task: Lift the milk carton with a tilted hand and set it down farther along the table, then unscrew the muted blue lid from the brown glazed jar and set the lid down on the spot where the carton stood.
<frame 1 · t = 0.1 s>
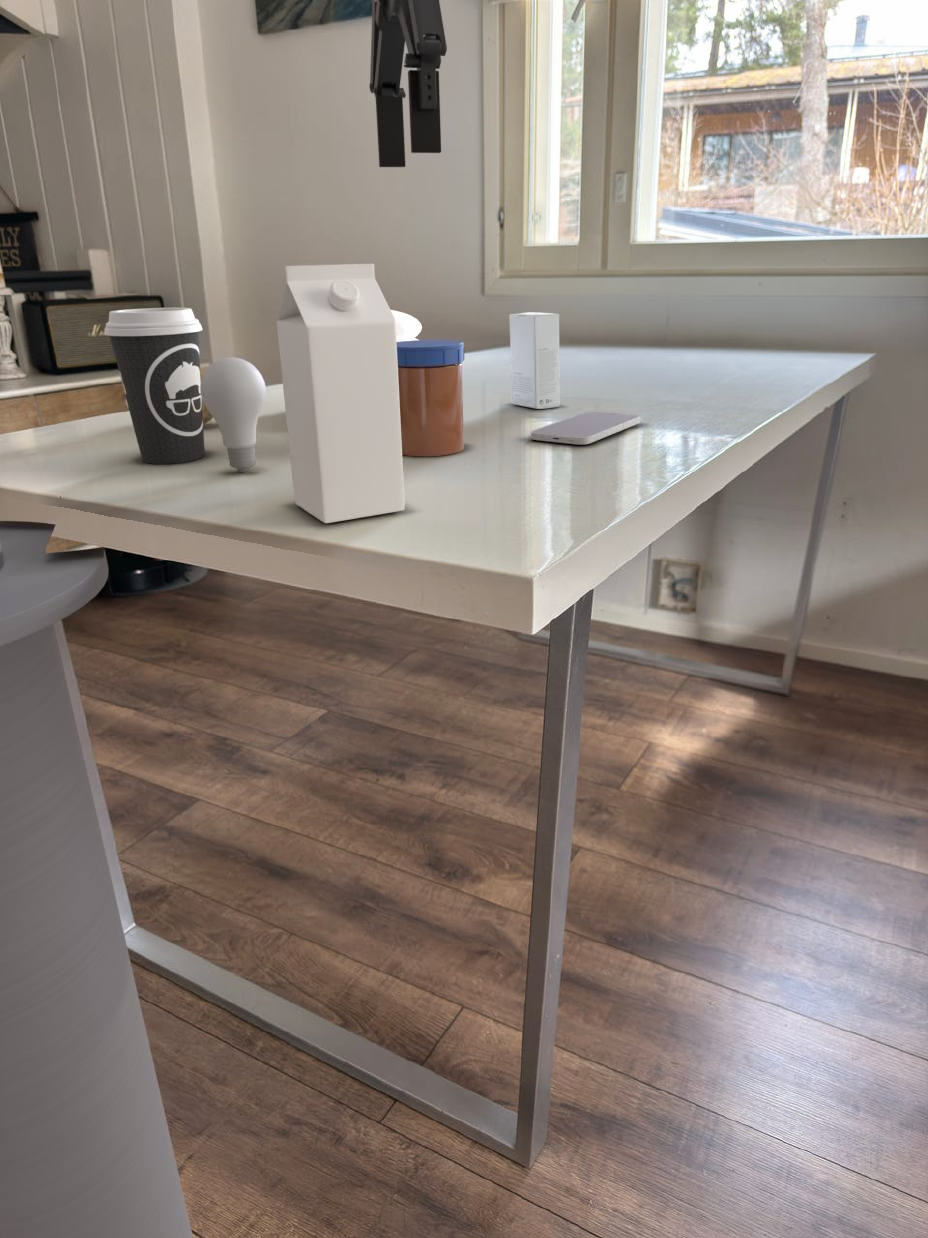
hand: (408, 160, 86), 28 cm above the table, tool pointing down, fingers open, 13 cm apart
cosmetic box: (534, 407, 119), on the table
coffee cup: (174, 459, 93), on the table
lightbulb: (243, 473, 86), on the table
jar lid: (425, 346, 90), point 11 cm above the table, screwed on, not yet turned
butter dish: (368, 416, 115), on the table
jar: (429, 449, 94), on the table
milk carton: (349, 511, 72), on the table
seashell: (192, 425, 112), on the table
smartphone: (587, 432, 101), on the table
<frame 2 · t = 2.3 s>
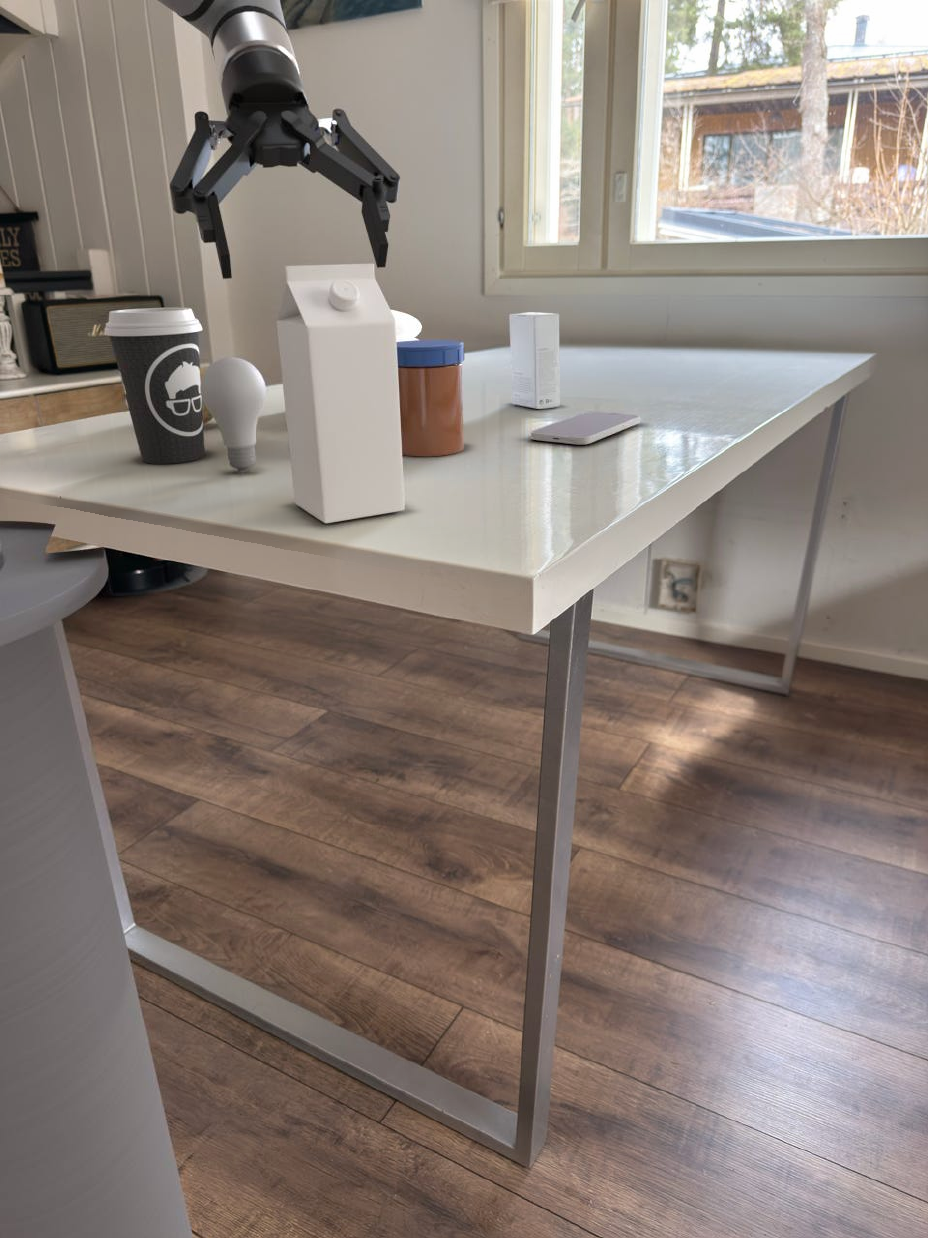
hand: (306, 261, 75), 19 cm above the table, tool tilted 45°, fingers open, 13 cm apart
nothing on the table moved.
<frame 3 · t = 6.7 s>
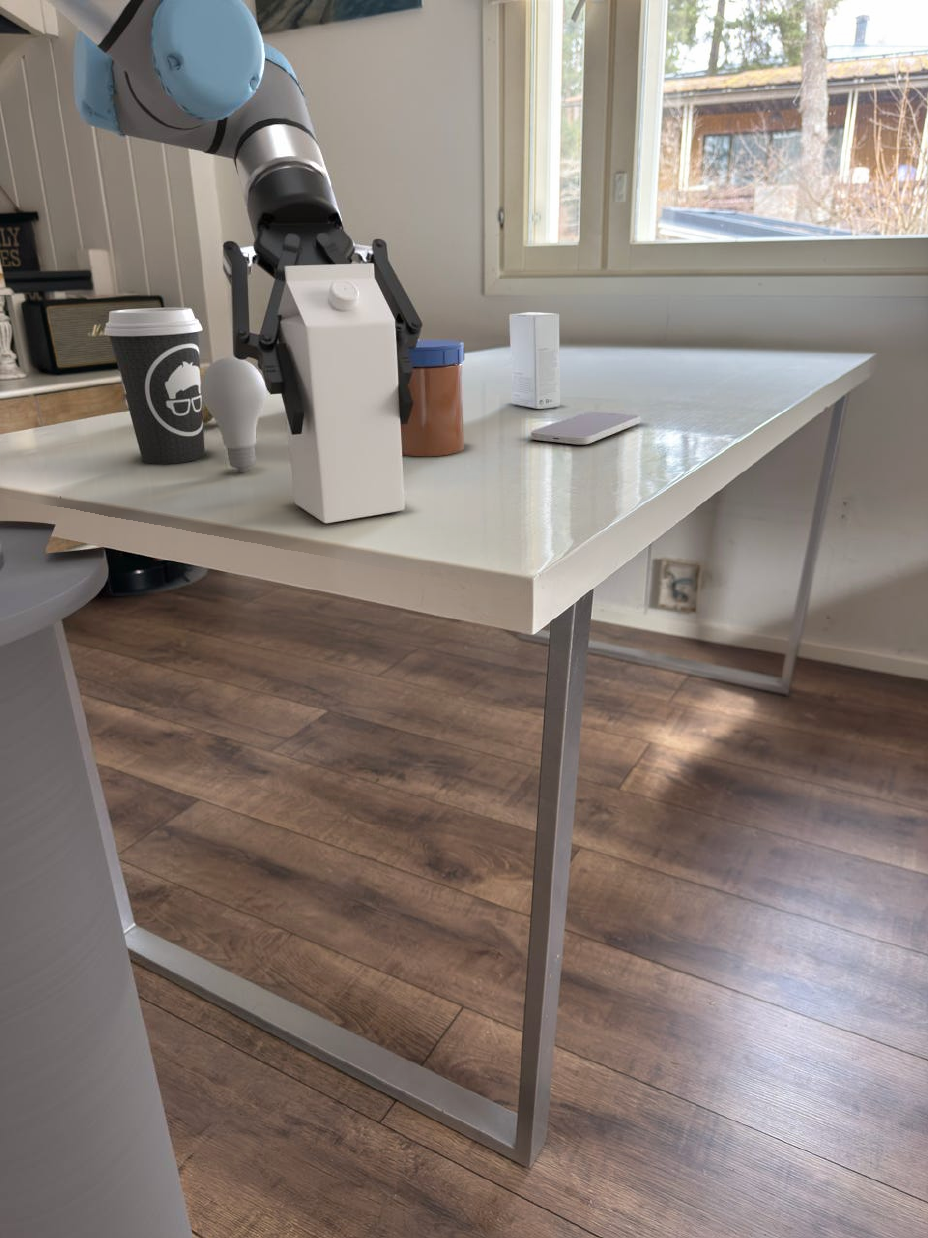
hand: (353, 418, 66), 8 cm above the table, tool tilted 45°, fingers closed on milk carton, 8 cm apart
milk carton: (349, 511, 72), on the table, touching gripper
everything else where it was.
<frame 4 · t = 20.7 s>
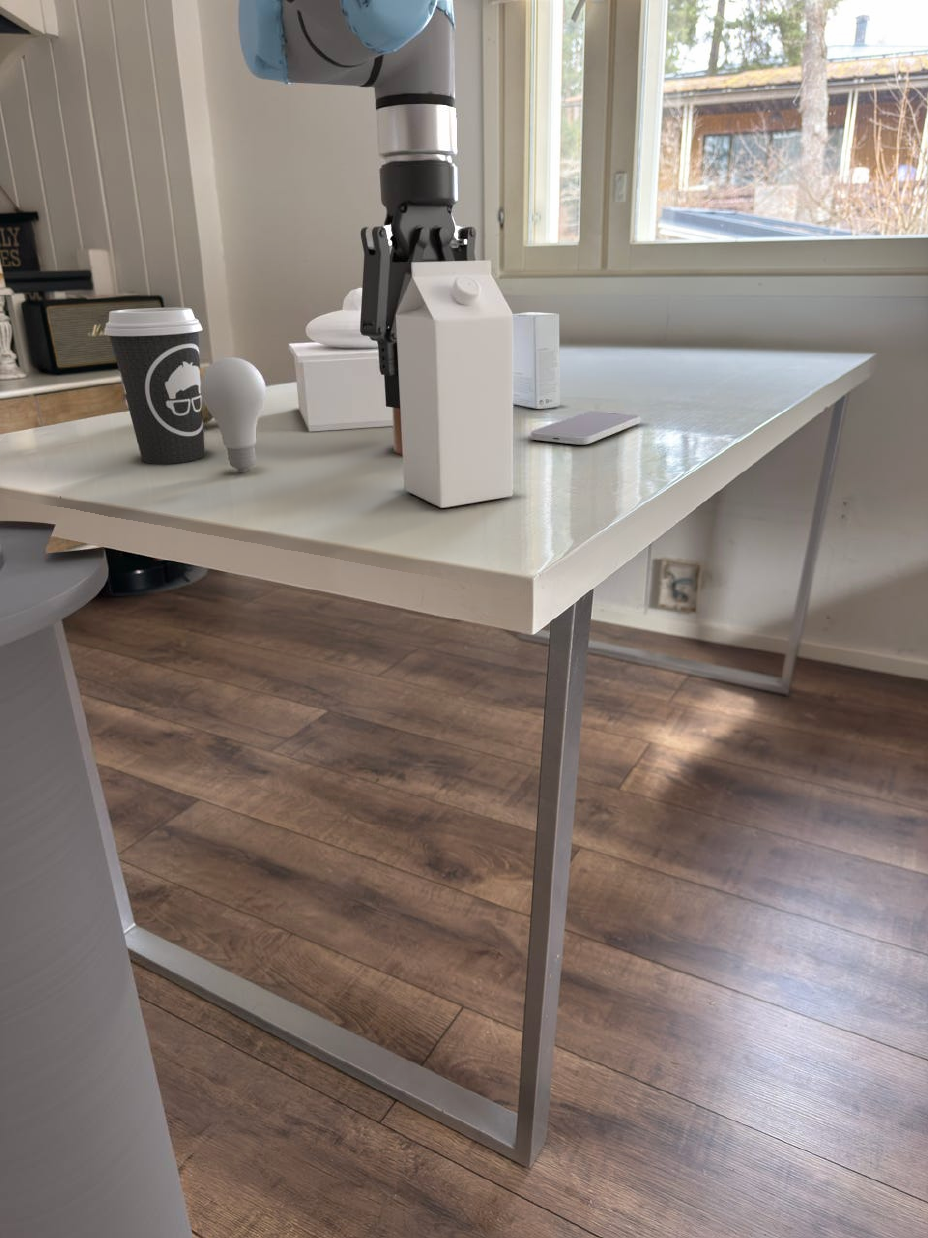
hand: (427, 401, 92), 5 cm above the table, tool pointing down, fingers closed on jar lid, 8 cm apart
jar lid: (425, 346, 90), point 11 cm above the table, screwed on, not yet turned, touching gripper
milk carton: (457, 497, 76), on the table
everything else where it was.
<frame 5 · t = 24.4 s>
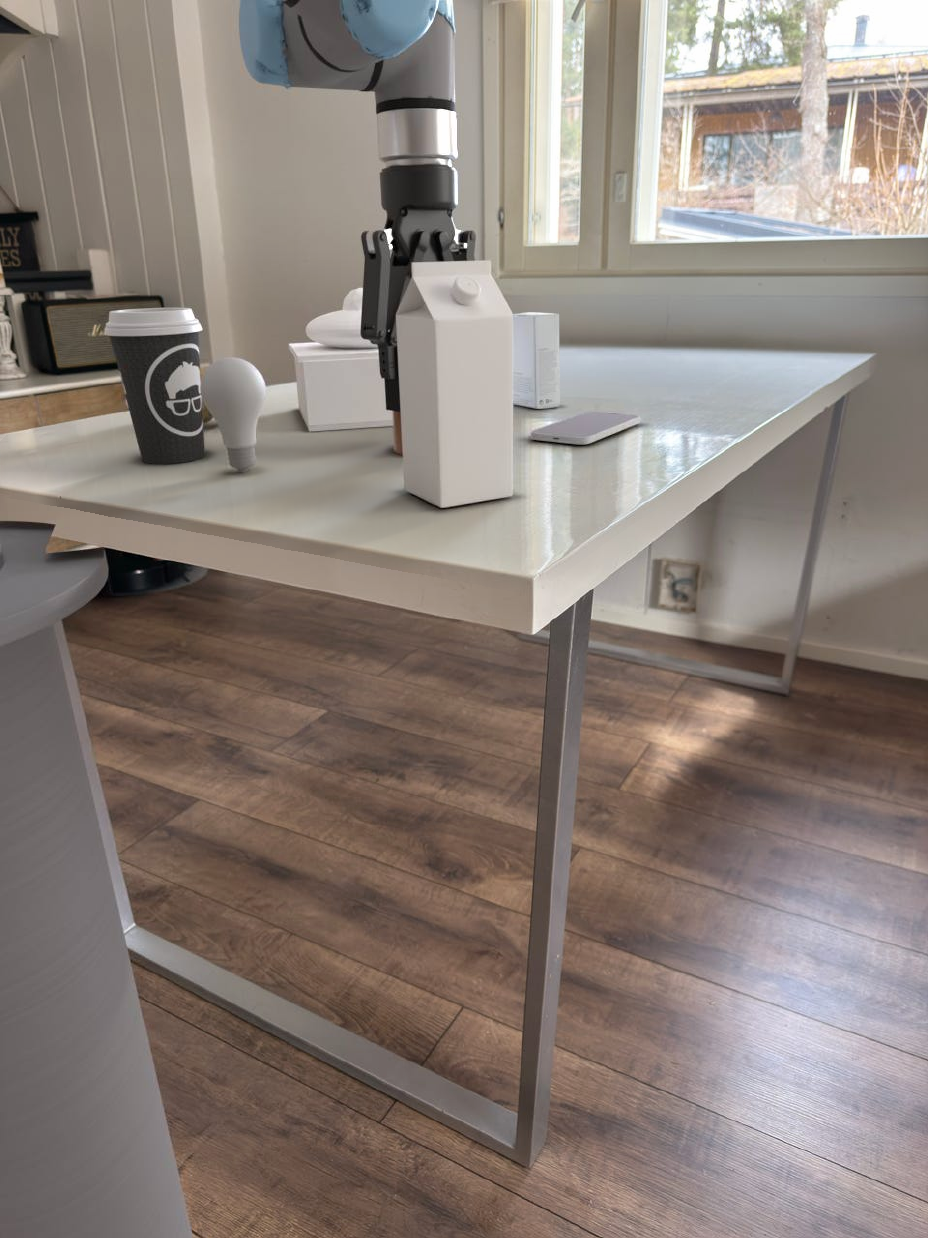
hand: (427, 404, 92), 5 cm above the table, tool pointing down, fingers closed on jar lid, 8 cm apart
jar lid: (425, 344, 90), point 11 cm above the table, turned 130° so far, risen 0.2 cm, still on its thread, touching gripper
everything else where it was.
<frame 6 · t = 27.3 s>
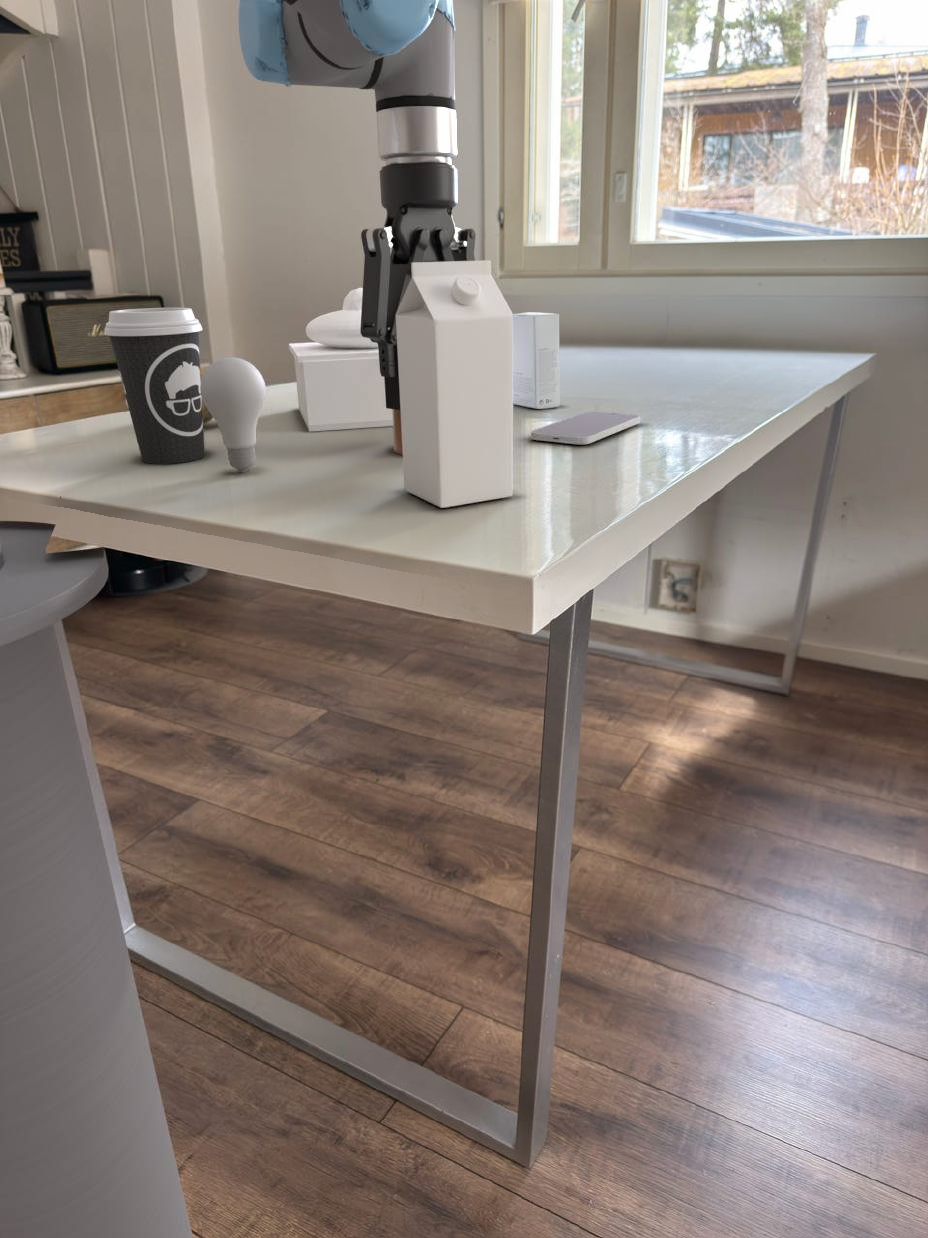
hand: (427, 403, 92), 5 cm above the table, tool pointing down, fingers closed on jar lid, 8 cm apart
jar lid: (424, 343, 90), point 11 cm above the table, turned 260° so far, risen 0.4 cm, still on its thread, touching gripper
everything else where it was.
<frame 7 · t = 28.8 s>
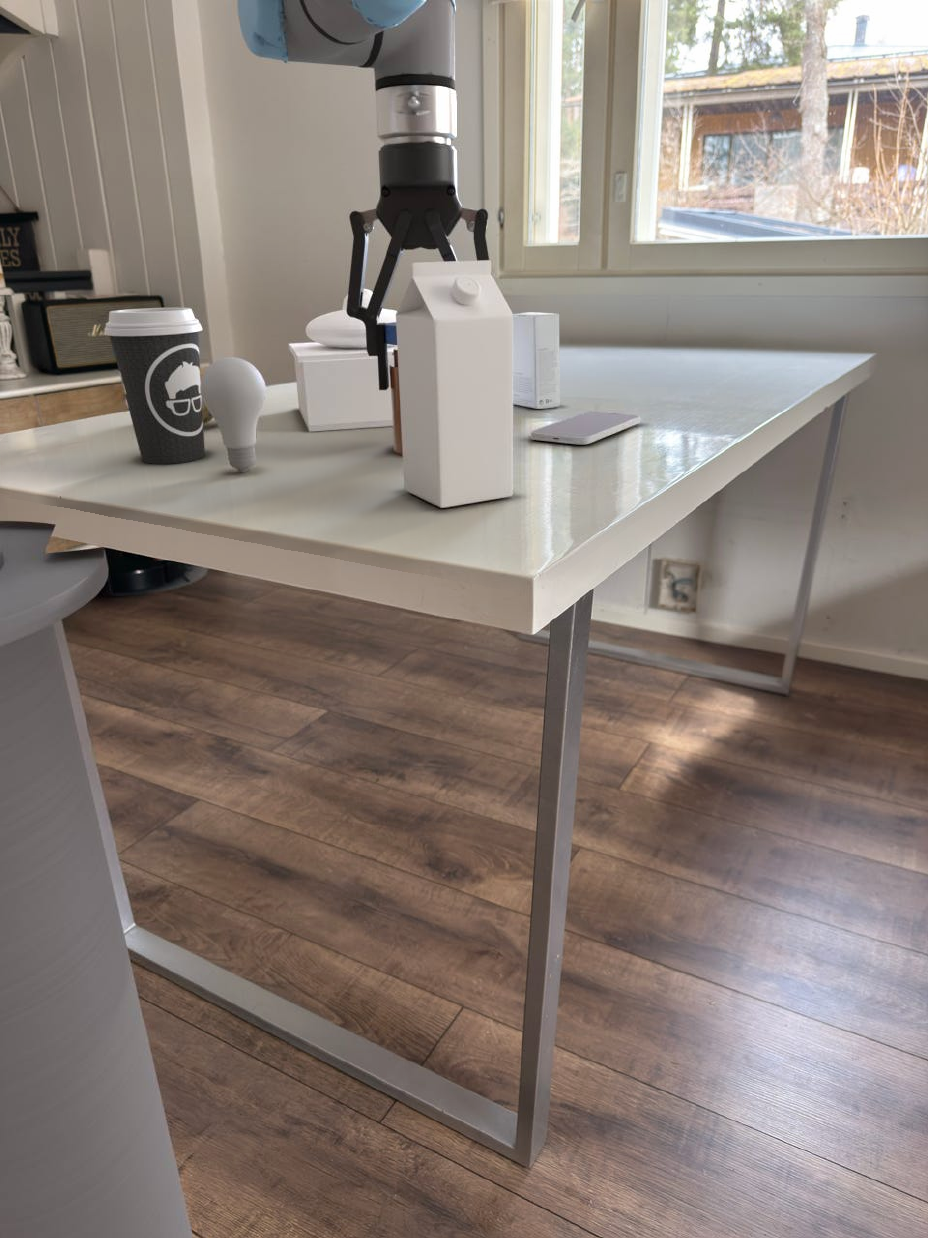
hand: (424, 387, 91), 7 cm above the table, tool pointing down, fingers closed on jar lid, 8 cm apart
jar lid: (423, 326, 89), point 13 cm above the table, off its thread, touching gripper
jar: (429, 448, 94), on the table, touching gripper
everything else where it was.
when the fingers open (2 cm above the table, at t = 36.8 s): jar lid drops 6 cm, point 1 cm above the table.
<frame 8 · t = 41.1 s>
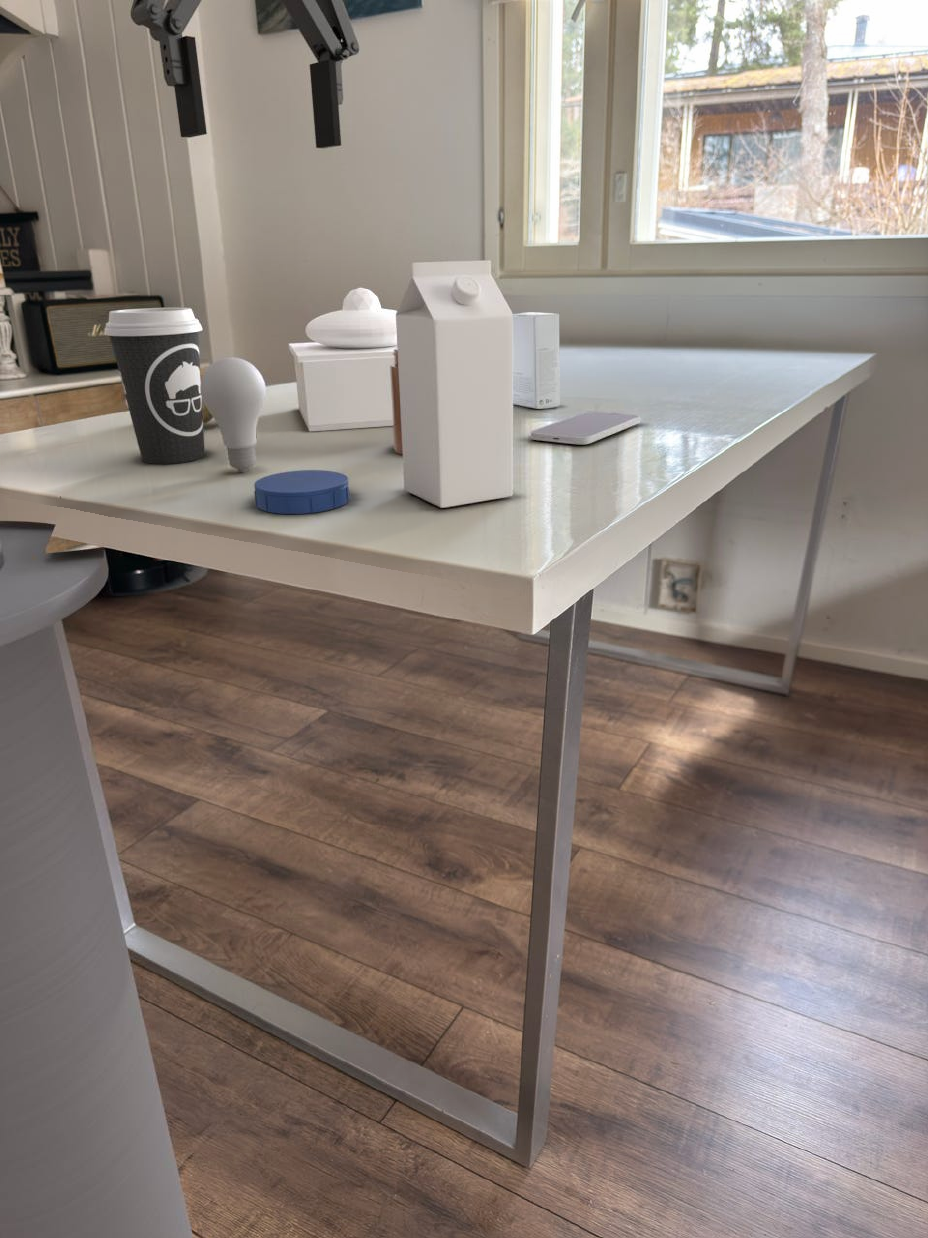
hand: (265, 141, 73), 29 cm above the table, tool pointing down, fingers open, 13 cm apart
jar lid: (301, 484, 74), point 1 cm above the table, off its thread
jar: (429, 449, 94), on the table
everything else where it was.
at the end: jar lid came off its thread; jar lid inside the target area (0.0 cm from its centre), point 1.5 cm above the table; milk carton inside the target area (0.0 cm from its centre), on the table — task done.
